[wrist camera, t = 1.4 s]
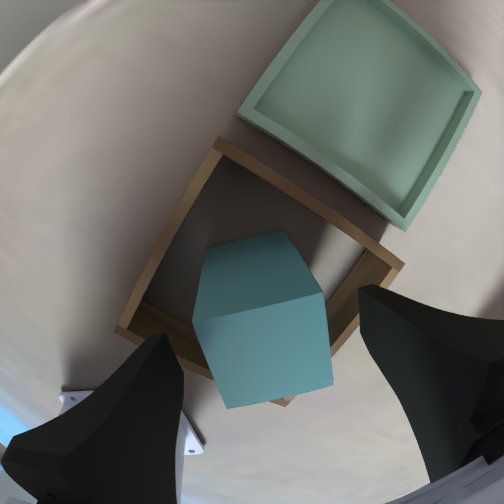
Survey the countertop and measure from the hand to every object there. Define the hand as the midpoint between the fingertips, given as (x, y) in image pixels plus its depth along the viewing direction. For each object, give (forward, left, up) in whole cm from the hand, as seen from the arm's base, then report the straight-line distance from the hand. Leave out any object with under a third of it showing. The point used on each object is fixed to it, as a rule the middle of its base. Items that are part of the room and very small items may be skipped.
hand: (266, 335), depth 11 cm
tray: (+8, +8, -6) cm, 13 cm away
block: (0, 0, -6) cm, 6 cm away
